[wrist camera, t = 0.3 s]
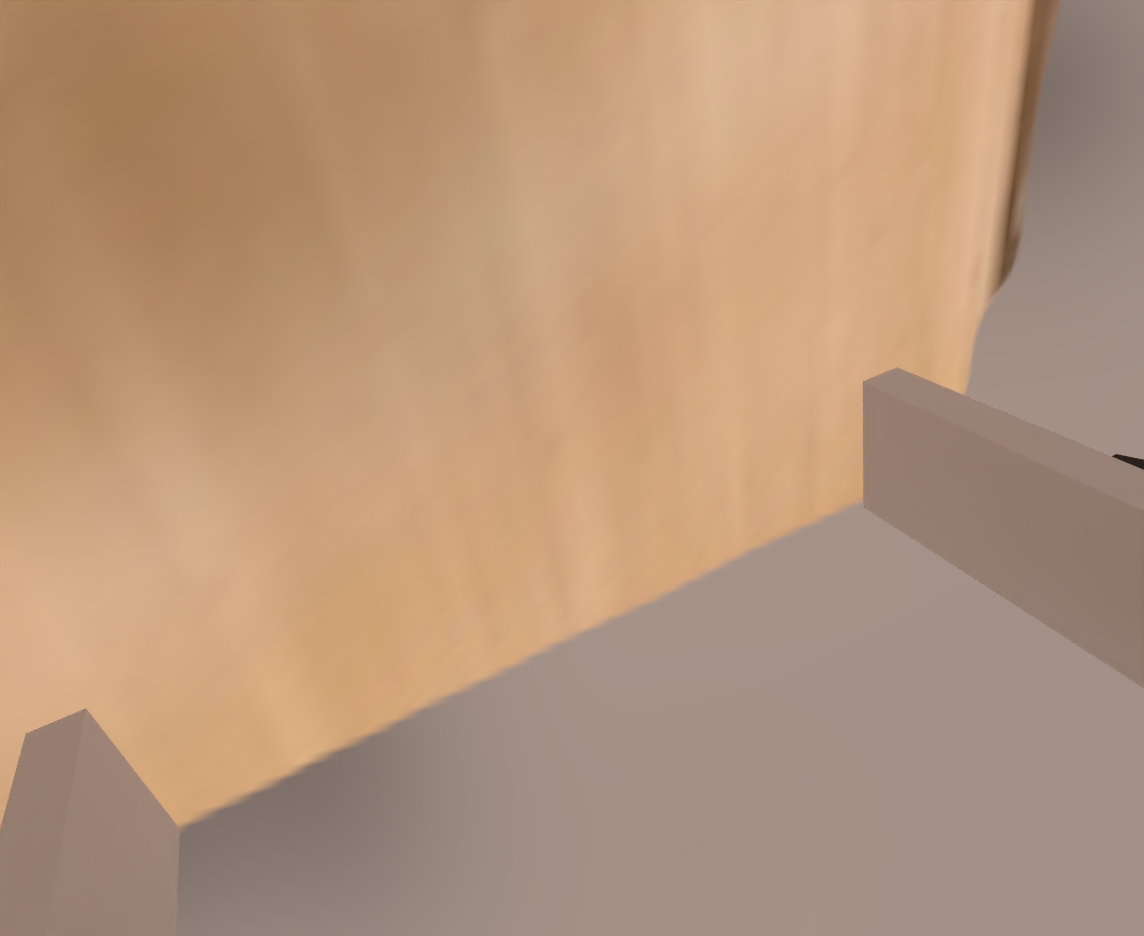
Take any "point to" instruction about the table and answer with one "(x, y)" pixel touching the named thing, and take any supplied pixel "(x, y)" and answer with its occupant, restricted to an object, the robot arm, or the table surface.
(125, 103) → the table surface
